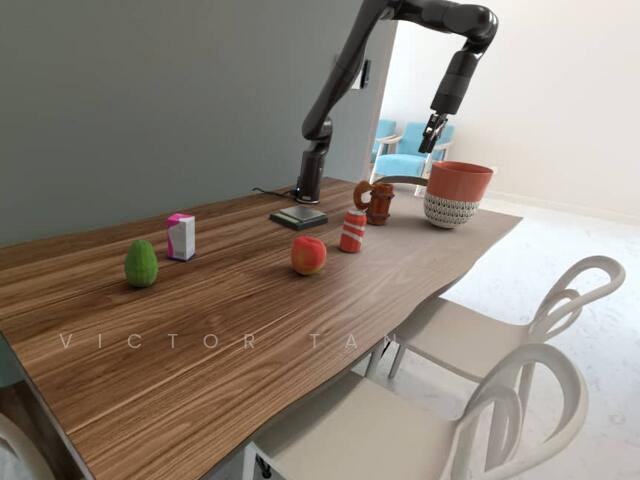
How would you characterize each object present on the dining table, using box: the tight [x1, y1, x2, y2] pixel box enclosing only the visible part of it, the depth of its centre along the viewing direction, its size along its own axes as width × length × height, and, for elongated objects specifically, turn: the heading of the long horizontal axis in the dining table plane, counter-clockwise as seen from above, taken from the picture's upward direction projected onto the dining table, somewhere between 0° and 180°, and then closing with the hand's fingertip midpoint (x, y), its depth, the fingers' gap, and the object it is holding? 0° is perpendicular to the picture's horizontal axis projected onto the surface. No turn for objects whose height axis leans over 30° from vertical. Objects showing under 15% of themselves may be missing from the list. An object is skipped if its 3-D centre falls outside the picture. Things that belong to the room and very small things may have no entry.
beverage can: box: [338, 208, 368, 253], centre depth 119 cm, size 6×6×12 cm
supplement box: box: [166, 212, 196, 263], centre depth 108 cm, size 6×6×12 cm
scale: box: [269, 211, 329, 232], centre depth 143 cm, size 14×16×2 cm
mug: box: [352, 179, 396, 226], centre depth 142 cm, size 15×8×15 cm, turn 84°
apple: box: [290, 235, 327, 276], centre depth 104 cm, size 10×10×10 cm
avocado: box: [123, 238, 159, 288], centre depth 93 cm, size 8×8×12 cm
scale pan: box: [278, 204, 326, 222], centre depth 143 cm, size 12×12×1 cm
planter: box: [422, 160, 495, 229], centre depth 142 cm, size 20×20×21 cm
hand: (424, 152), depth 119 cm, fingers open, 8 cm apart
